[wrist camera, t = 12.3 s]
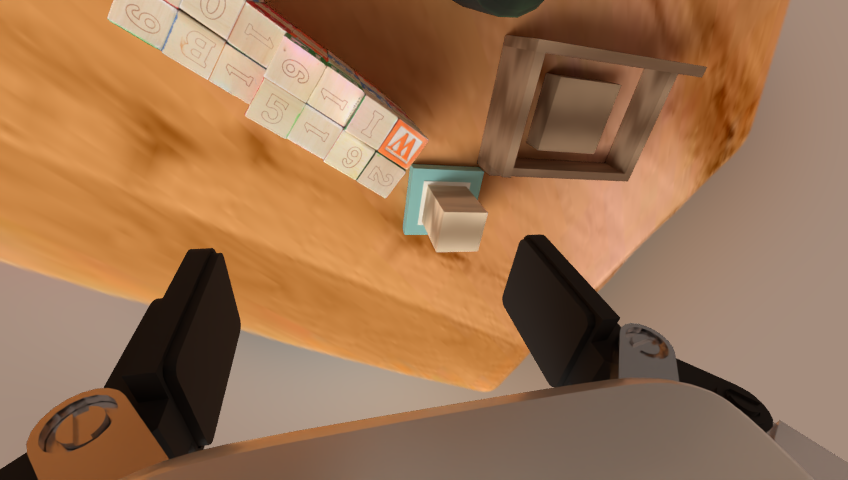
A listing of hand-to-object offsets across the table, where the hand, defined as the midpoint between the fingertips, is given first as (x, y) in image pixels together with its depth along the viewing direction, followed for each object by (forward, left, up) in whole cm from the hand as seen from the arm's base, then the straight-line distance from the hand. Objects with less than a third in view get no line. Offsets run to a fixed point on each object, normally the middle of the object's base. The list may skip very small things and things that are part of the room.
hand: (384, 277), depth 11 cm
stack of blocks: (-2, -4, -31) cm, 31 cm away
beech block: (+11, +12, -29) cm, 33 cm away
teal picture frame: (+11, +13, -30) cm, 35 cm away
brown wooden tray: (-1, +27, -30) cm, 40 cm away
